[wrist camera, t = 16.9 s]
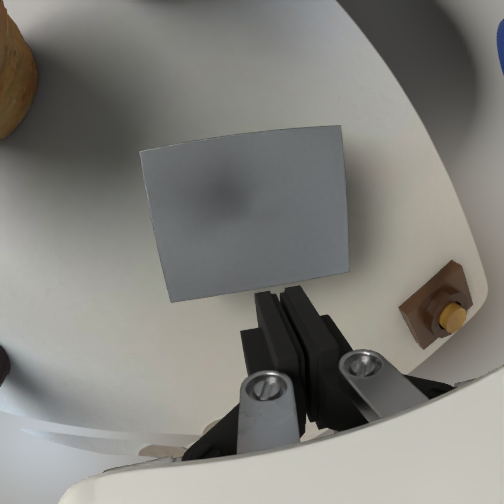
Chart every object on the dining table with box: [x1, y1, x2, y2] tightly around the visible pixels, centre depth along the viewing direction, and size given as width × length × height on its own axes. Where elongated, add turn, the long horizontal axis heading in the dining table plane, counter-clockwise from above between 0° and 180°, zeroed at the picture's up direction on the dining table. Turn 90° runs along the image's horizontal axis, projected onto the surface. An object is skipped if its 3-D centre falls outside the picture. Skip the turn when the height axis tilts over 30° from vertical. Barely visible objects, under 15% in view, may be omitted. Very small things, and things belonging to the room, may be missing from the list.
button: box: [439, 303, 466, 333], centre depth 35 cm, size 4×4×2 cm
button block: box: [398, 260, 473, 350], centre depth 37 cm, size 10×8×4 cm
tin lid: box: [139, 125, 349, 303], centre depth 23 cm, size 14×12×1 cm
